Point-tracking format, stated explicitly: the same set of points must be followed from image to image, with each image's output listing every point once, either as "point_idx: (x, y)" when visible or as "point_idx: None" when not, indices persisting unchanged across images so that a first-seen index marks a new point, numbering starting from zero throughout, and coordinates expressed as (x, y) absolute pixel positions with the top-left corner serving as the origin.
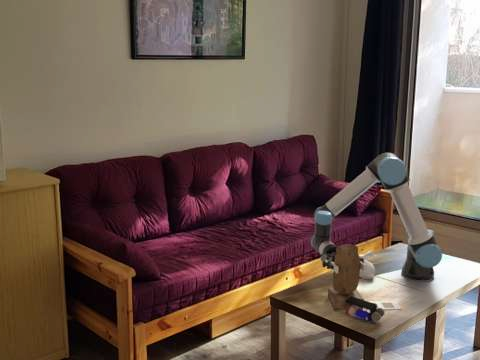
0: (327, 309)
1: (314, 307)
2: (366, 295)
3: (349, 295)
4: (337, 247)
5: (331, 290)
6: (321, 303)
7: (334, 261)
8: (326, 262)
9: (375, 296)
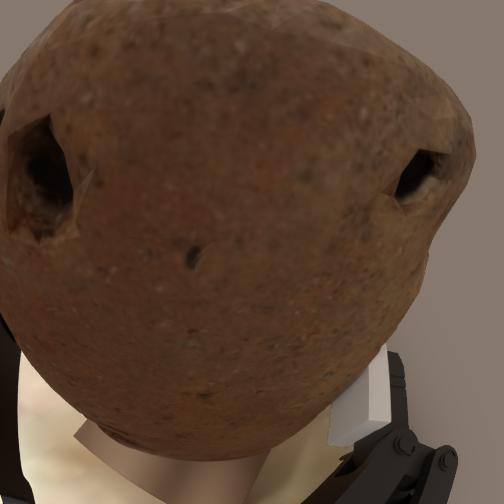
0: (297, 432)
1: (338, 465)
2: (35, 422)
3: None
4: (465, 114)
5: (239, 488)
6: (287, 490)
7: (377, 349)
8: (413, 463)
9: (21, 390)
